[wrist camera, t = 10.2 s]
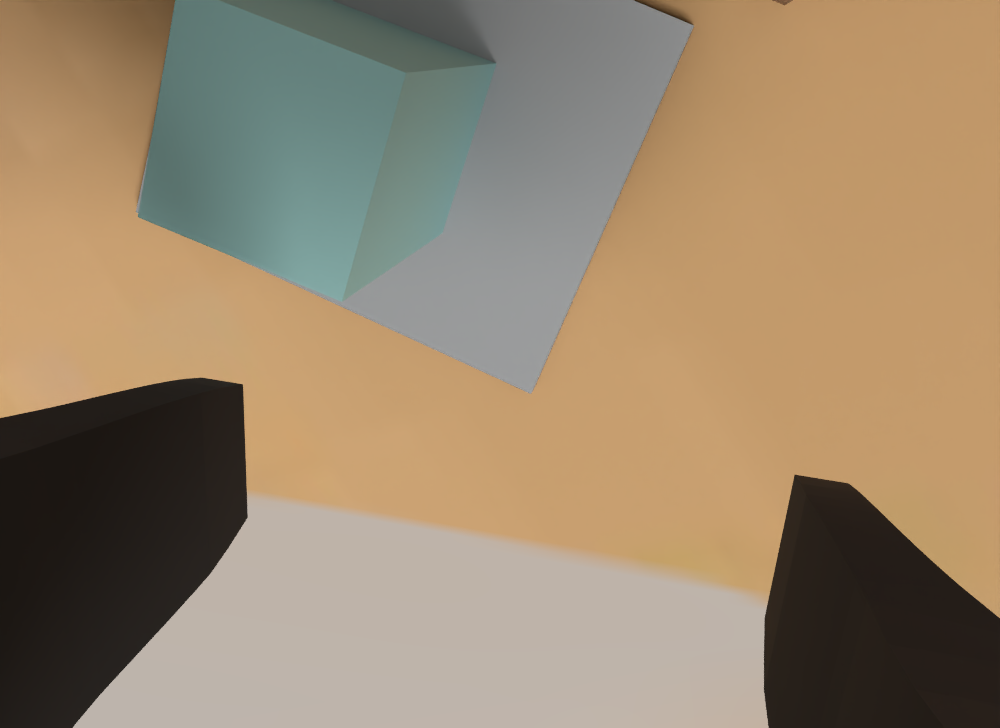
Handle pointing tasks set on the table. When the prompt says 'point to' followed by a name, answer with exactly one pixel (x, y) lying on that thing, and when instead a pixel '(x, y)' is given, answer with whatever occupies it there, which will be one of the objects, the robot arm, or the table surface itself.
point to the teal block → (309, 137)
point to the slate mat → (525, 172)
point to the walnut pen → (783, 1)
